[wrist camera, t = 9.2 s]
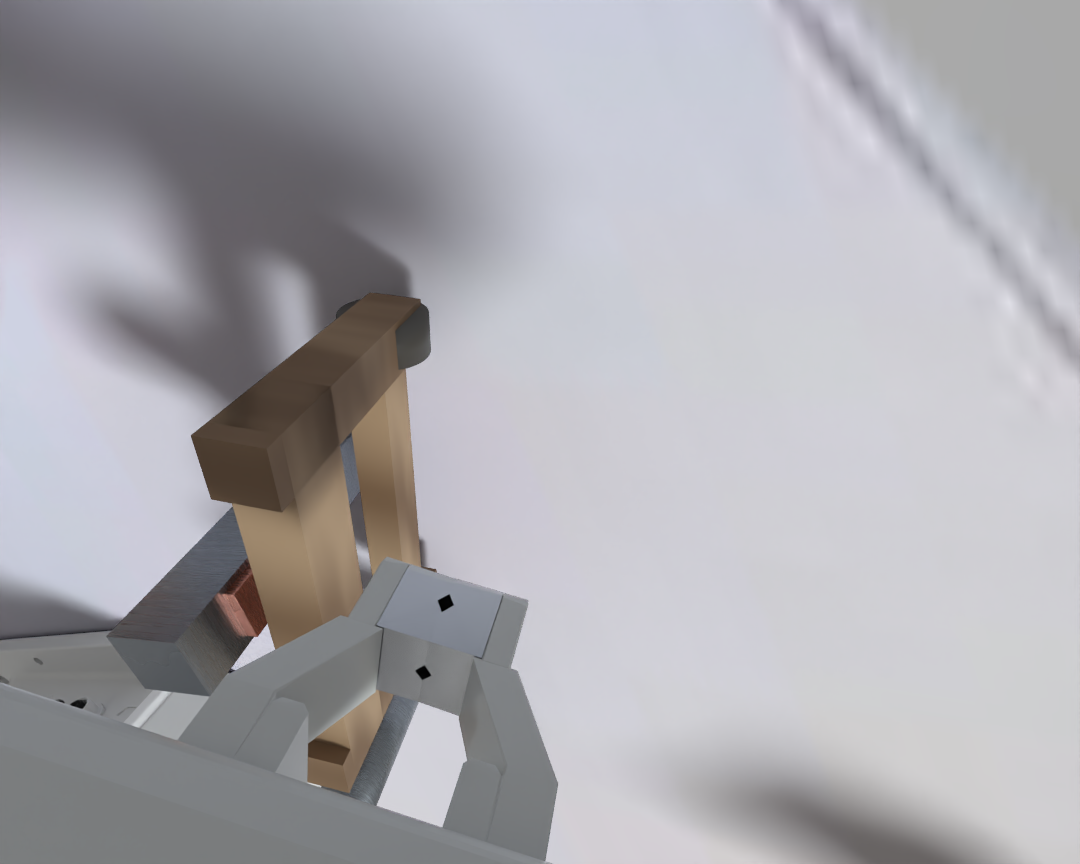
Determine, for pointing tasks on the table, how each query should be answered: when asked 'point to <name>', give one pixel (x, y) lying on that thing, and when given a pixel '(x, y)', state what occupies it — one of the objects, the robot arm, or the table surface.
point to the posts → (229, 632)
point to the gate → (325, 485)
